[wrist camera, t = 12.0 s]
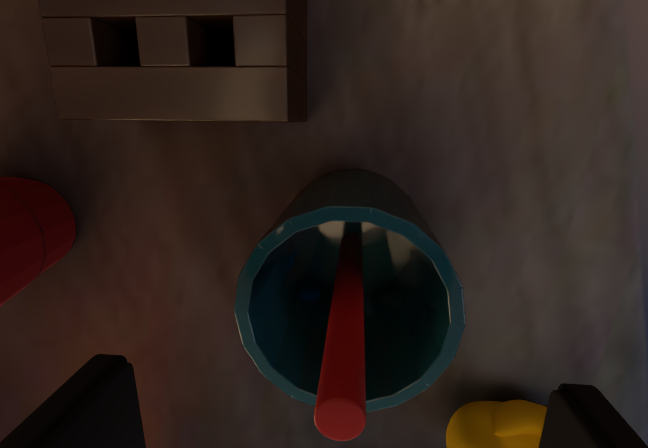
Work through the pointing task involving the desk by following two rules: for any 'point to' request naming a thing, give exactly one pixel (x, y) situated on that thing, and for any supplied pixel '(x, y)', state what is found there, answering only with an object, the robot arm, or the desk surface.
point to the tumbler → (378, 290)
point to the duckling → (496, 425)
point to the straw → (344, 350)
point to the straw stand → (178, 59)
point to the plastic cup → (31, 232)
